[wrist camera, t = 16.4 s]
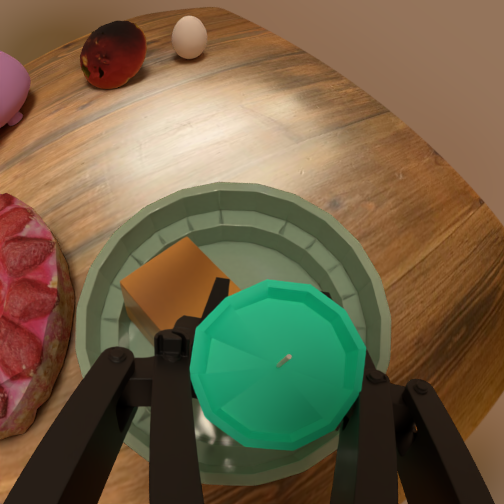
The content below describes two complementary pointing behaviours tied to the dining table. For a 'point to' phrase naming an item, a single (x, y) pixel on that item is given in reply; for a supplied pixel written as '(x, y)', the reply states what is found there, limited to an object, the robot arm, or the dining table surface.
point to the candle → (277, 365)
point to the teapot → (12, 89)
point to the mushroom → (113, 54)
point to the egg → (189, 37)
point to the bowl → (243, 275)
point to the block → (170, 288)
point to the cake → (30, 314)
